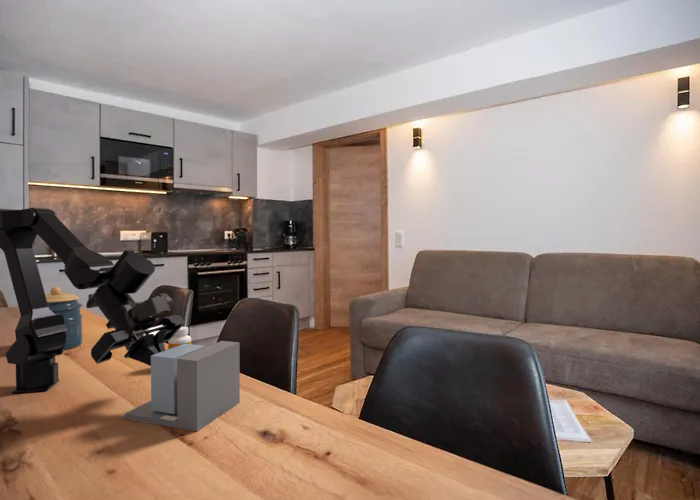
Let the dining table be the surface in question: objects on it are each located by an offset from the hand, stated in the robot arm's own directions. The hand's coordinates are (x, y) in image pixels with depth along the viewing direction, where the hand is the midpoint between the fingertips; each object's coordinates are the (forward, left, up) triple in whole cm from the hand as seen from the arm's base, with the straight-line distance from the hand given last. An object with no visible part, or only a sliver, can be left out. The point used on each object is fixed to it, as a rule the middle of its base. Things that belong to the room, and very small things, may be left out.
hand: (167, 370), depth 81 cm
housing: (+3, -2, -7) cm, 8 cm away
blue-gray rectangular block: (+2, -2, -6) cm, 7 cm away
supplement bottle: (-1, +27, -7) cm, 28 cm away
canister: (-38, +56, -7) cm, 68 cm away
